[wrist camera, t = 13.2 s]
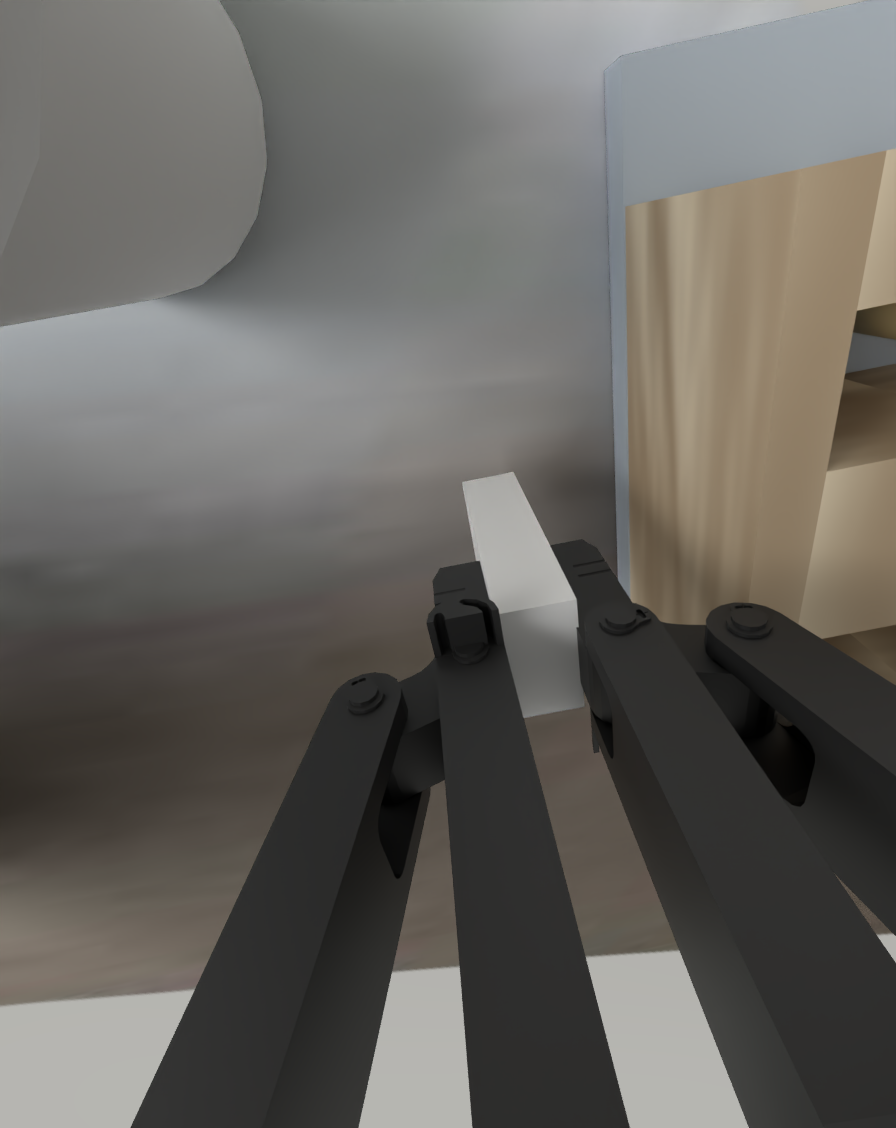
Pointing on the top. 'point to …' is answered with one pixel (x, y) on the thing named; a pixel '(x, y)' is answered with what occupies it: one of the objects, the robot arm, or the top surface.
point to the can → (122, 151)
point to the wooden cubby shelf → (765, 403)
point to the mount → (743, 145)
